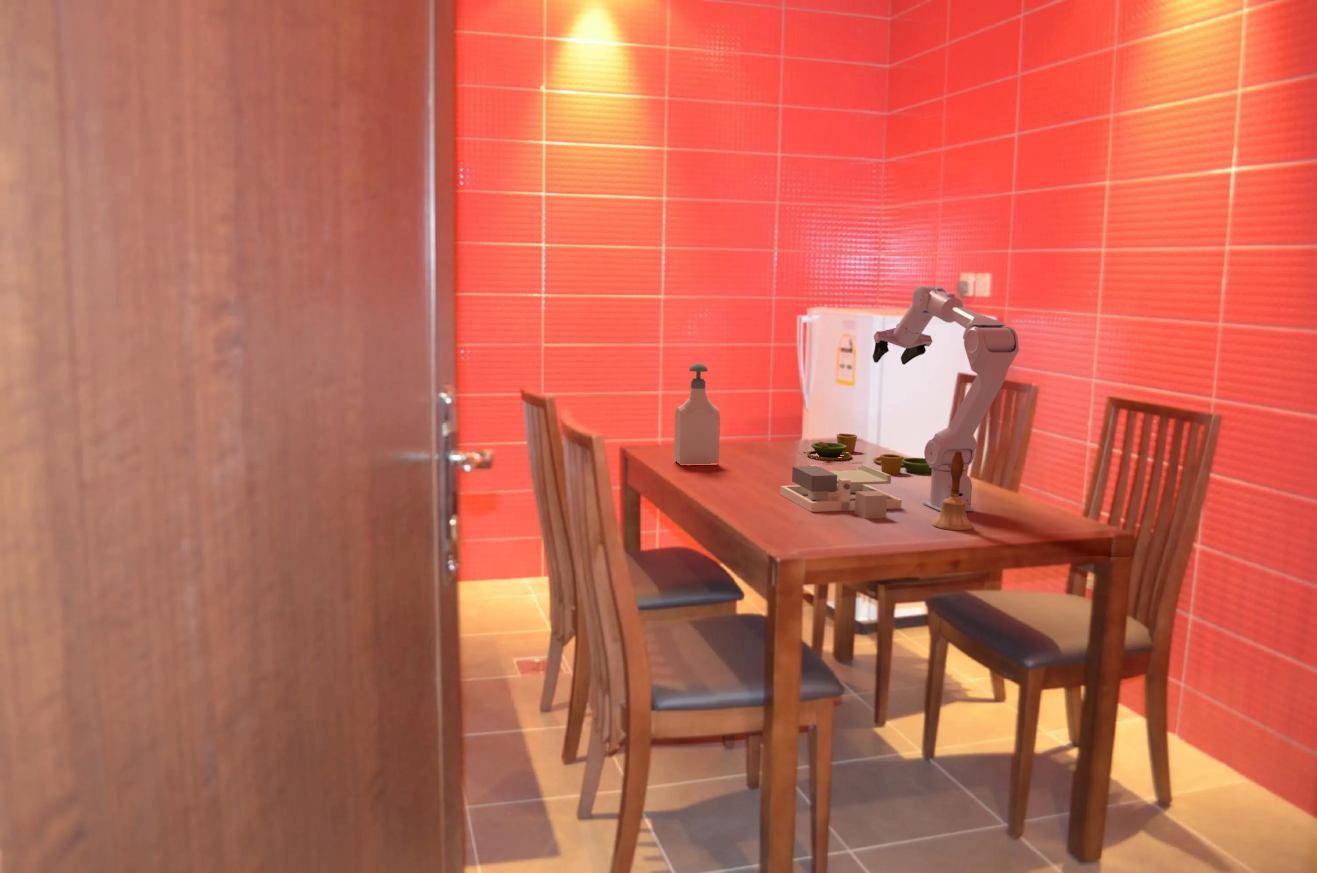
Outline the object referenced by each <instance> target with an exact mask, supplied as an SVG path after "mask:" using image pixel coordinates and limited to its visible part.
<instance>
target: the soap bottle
mask: <svg viewBox="0 0 1317 873" xmlns="http://www.w3.org/2000/svg"><path fill="white" fill-rule="evenodd" d="M689 372H695V378H692V380H691V381H690V391H689V396H688V398H687V399H686V400H685V402H683V404H680V405H679V406H677V407H676V409H675V415H674V437H673V438H674V440H673V443H674V446H673V461H674V460H675V461H677V462H678V463H679V464H711V463H720V439H721V438H720V437H721V436H720V434H721V433H720V430H721V429H720V428H721V427H720V426H721V416H720V410H719V408H718V407H717V406H716V405H715V404H713V403H712V402H711V401H710V399H709V398H708V396H707V393H706V391H707V390H706V380H705V379H704V378H702V377H701V373H702V372H708V367H707V366H706V365H705V364H702V363H695V364H693V365H691V366H690V367H689ZM675 461H674V462H675ZM679 464H678V465H679Z"/></svg>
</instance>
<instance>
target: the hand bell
mask: <svg viewBox="0 0 1317 873" xmlns="http://www.w3.org/2000/svg"><path fill="white" fill-rule="evenodd" d="M963 467H964V462H963V457H962V452H961V451H955V454H954V456H953V458H952V461H951V476H952V487H951V493H950V497H949V498H947V499H945V500H944V501H943V505H942V509H941V511H939V514H938V516H937V517H936V518H935V519H934V520H933V521H932V523H931V525H932V526H934V527H935V528H937V529H938V528H939V529H942V530H949V531H970V530H973V529H974V527H973V524H972V523H971V522H970V520H969V519H968V516H967V511H966V509H965V502H964V501H963V500H961V499H960V498H959V485H960V479H961V476H962V473H963Z"/></svg>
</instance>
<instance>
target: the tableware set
mask: <svg viewBox="0 0 1317 873" xmlns="http://www.w3.org/2000/svg"><path fill="white" fill-rule="evenodd" d="M857 439H858V435H857V434H855V433H854V434H852V433H837V434H836V442H824V441H817V442H813V443H811V445H810V447H811V448H812V449H813V450H809V451H810V452H807V453H806V455H807V456H808V458H810V457H812V458H817V459H822V460H821V461H825V460H843V461H838V462H823V463H822V465H842V464H841V463H842V462H843V463H852V464H863V461H855V460H853V461H847V459H848V460H850V459H851V458H852V457H853V454H852V453H846V452H854V453H855V449H856V444H857ZM816 453H817V454H818V455H819V457H818V456H813V455H811V454H816ZM840 455H844V456H840ZM838 457H842V458H838ZM812 458H811V459H812ZM817 459H816V460H817ZM872 461H873V462H874V463H875V464H877V465H879V466H880V469H881V470H880V471H881V472H884V473H886V474H889V475H891V476H892V475H893V476H894V475H900V474H901V468H904V469H905V470H906V472H908V473H912V474H919V475H922V474H932V468H930V467H929V465H928V463H927V462H926V459H925V457H924V458H923V457H906V456H905V457H904V456H903V455H899V454H894V453H883V454H880V455H879V456H878V457H874V458H873V459H872ZM857 468H858V469H859V470H861V466H858V467H857ZM853 470H856V469H853ZM842 471H843V470H842Z"/></svg>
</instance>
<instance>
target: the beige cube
mask: <svg viewBox="0 0 1317 873" xmlns="http://www.w3.org/2000/svg"><path fill="white" fill-rule="evenodd" d="M854 497H855V499H854V500H855V510H854V514H855V515H857V516H859V517H861V518H863V519H868V520H869V519H886V518H887V509H886V507H887V495H885V494H883V493H881V492H878V491H856V493H855V496H854Z"/></svg>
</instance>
